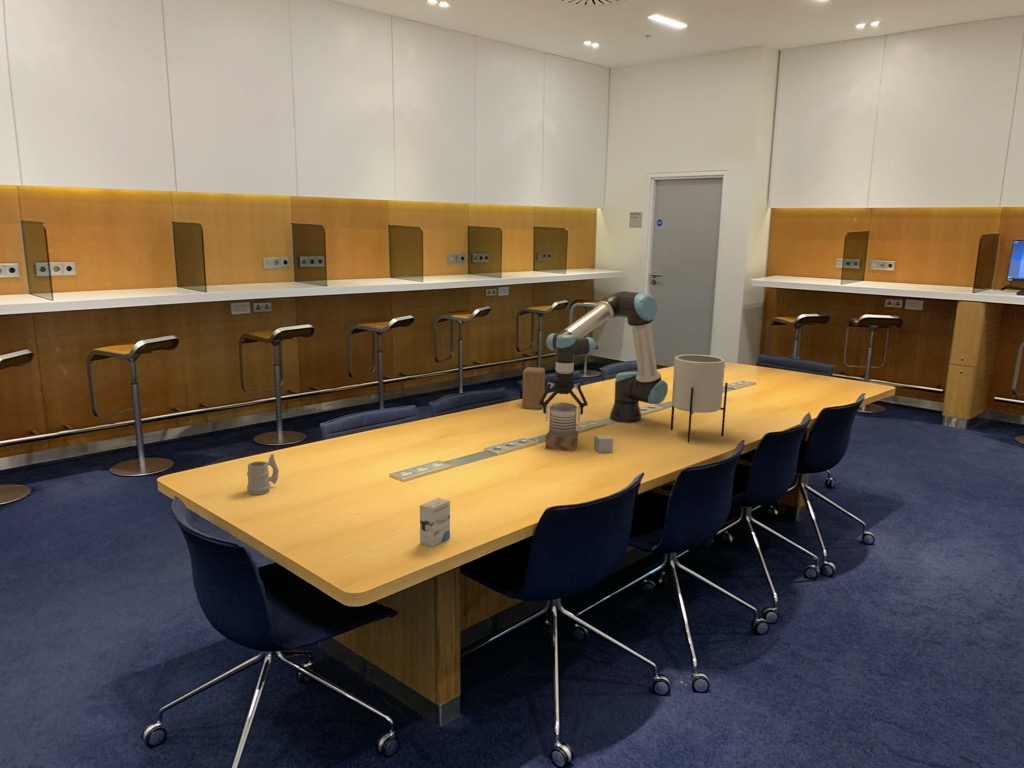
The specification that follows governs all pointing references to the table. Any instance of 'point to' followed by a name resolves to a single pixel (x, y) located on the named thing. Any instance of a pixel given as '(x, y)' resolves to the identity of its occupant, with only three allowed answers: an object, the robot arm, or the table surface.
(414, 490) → the table surface
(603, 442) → the slate block
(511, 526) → the table surface
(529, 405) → the wooden block
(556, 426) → the can
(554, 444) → the walnut block
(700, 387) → the plant pot with stand
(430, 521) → the ink box
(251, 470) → the mug
